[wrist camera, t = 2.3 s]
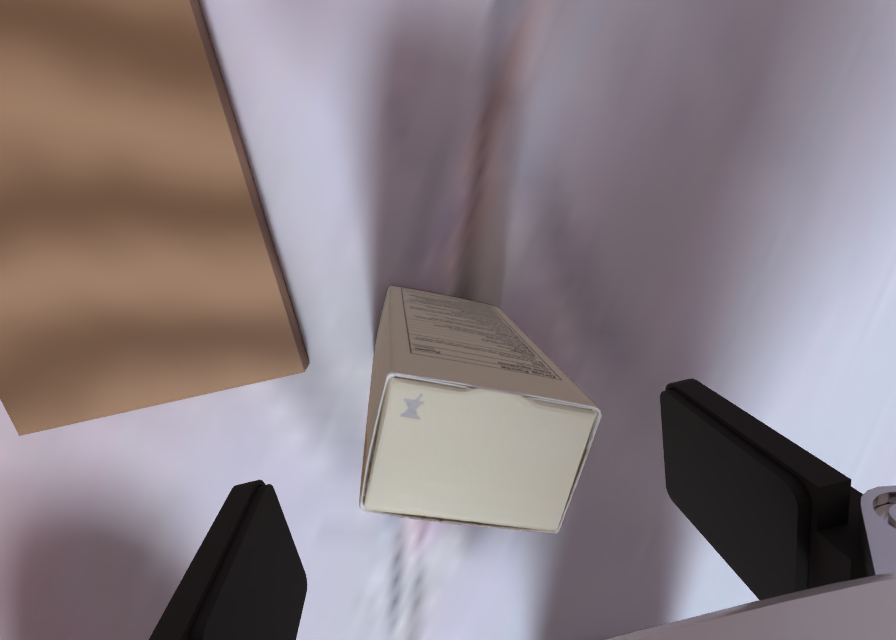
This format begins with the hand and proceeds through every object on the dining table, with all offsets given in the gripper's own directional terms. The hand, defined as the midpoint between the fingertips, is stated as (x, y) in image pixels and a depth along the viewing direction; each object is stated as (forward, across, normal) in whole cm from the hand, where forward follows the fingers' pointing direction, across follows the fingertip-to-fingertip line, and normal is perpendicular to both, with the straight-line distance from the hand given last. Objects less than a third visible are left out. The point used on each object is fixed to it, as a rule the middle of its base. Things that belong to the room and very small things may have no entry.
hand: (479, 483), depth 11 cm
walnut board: (+14, +14, -8) cm, 21 cm away
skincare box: (+14, 0, +1) cm, 14 cm away
